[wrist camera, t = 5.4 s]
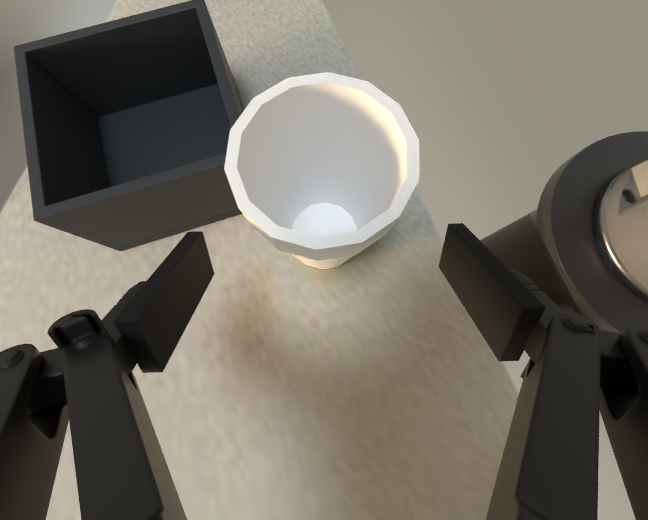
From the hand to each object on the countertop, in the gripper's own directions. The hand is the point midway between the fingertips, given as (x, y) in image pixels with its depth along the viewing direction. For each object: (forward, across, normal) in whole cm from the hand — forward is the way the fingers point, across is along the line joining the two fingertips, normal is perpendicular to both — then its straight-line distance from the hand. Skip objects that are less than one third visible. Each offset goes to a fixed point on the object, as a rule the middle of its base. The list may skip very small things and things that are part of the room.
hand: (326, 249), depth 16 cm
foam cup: (+10, 0, -4) cm, 11 cm away
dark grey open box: (+16, -14, +1) cm, 21 cm away
